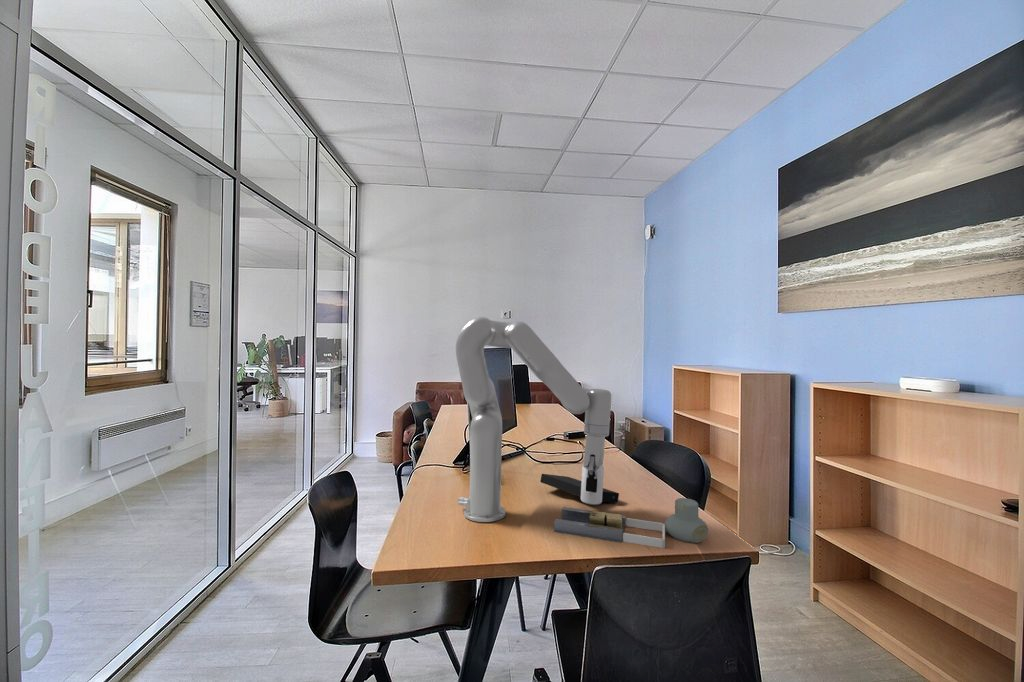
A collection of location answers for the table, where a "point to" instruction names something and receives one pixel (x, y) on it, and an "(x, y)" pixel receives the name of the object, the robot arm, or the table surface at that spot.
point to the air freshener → (686, 522)
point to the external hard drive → (574, 486)
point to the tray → (645, 539)
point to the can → (592, 497)
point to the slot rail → (586, 526)
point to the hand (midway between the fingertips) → (593, 487)
